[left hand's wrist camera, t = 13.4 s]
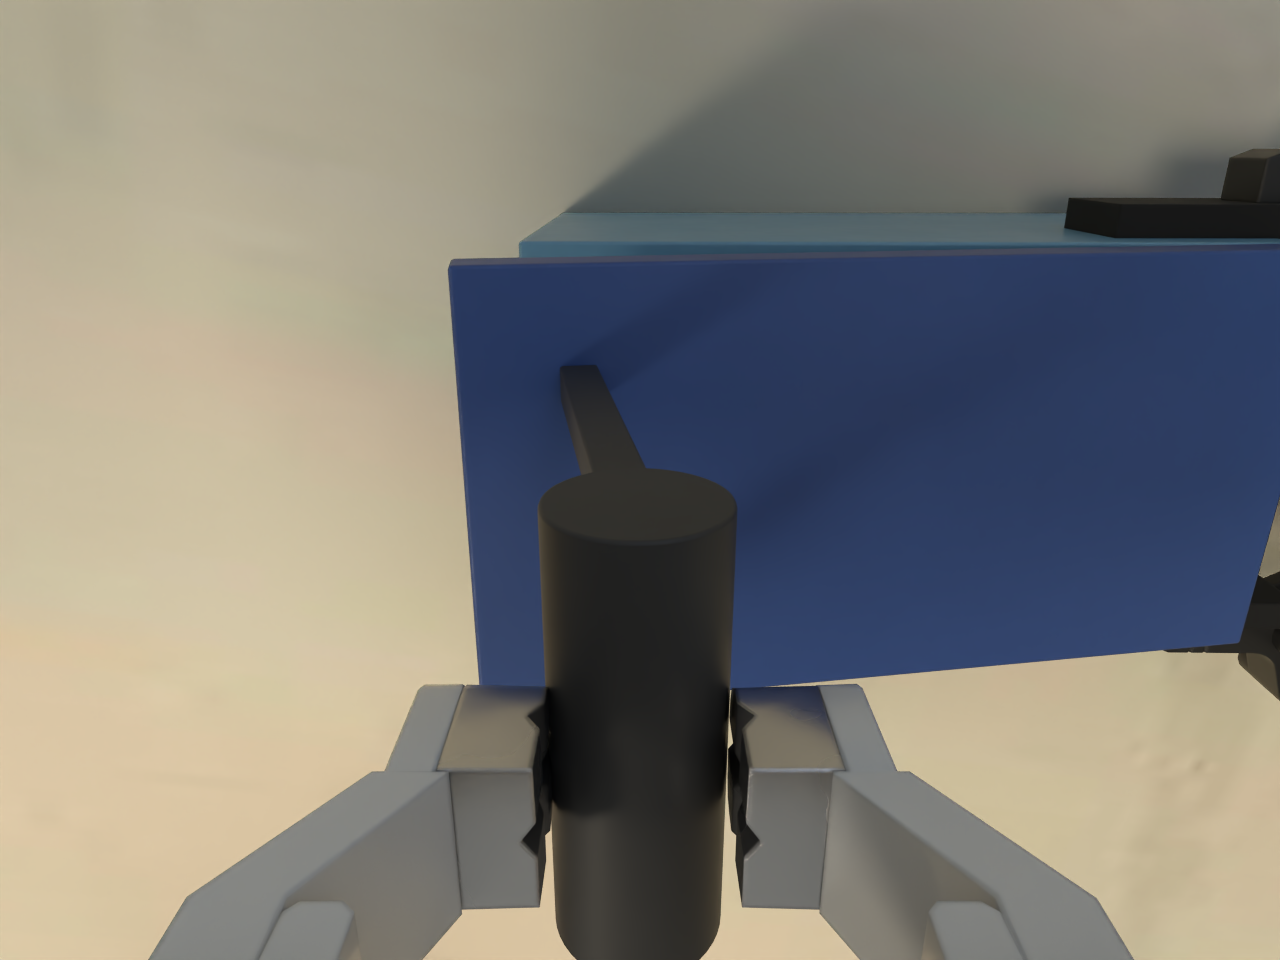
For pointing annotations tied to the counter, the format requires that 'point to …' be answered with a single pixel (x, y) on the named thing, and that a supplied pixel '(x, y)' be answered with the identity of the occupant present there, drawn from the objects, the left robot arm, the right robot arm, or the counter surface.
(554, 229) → the chest
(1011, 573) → the lid
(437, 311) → the counter surface
